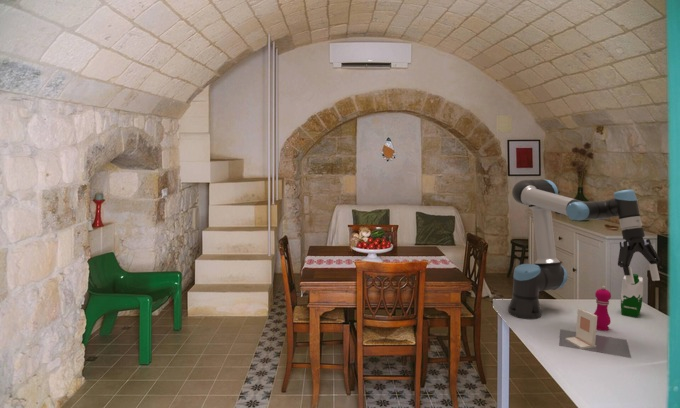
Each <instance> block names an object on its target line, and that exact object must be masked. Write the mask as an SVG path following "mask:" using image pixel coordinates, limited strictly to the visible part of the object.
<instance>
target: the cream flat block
mask: <svg viewBox="0 0 680 408" xmlns="http://www.w3.org/2000/svg"><path fill="white" fill-rule="evenodd" d="M596 326H597V316H596V315H594V313H592V312H589V311H587V310H586V309H583V308H579V307H578V308H577V316H576V327H575V328H576V329H575V332H576V337H578V338H580V339H581V340H583V341H585V342H587V343H589V344H591V345H595V340H596V335H597V329H596Z"/></svg>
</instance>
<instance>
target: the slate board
mask: <svg viewBox="0 0 680 408" xmlns="http://www.w3.org/2000/svg"><path fill="white" fill-rule="evenodd" d="M571 337H576V331H574V330H566V329H562V328H561V329H559V344H558V345H559V347H565V348H571V349H576V350H582V351H588V352H593V353H599V354H605V355H612V356H617V357H623V358H629V359H632V355H631V351H630V348H629V344H628V340H627V339H624V338H617V337H612V336H605V335H599V334H596V340H595V345H596V347H594V348H585V349H580V348H578V347H577V346H575V345H573V344H571V343H570V342H568V341H566V340H565V338H571Z"/></svg>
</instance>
